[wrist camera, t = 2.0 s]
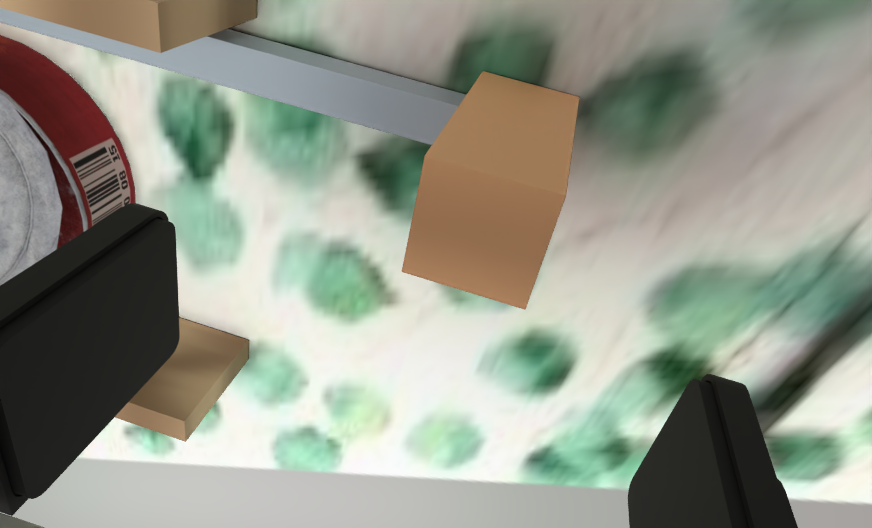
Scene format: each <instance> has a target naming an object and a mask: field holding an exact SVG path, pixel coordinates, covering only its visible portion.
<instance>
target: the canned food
mask: <svg viewBox="0 0 872 528" xmlns="http://www.w3.org/2000/svg"><path fill="white" fill-rule="evenodd" d="M130 203H135V186H134V181H133V177H132V172H131V168H130V164H129V162H128V159H127V157H126V154H125V152H124V149H123V147H122V144H121V142H120V140H119V138H118V137H117V135H116V133H115V131H114V130H113V128H112V126H111V124H110V123H109V121H108V119H107V118H106V116H105V115H104V114H103V112H102V111H101V110H100V108H99V107H98V106H97V105H96V103H95V102H94V101H93V99H92V98H91V97H90V95H89V94H88V93H87V92H86V91H85V90H84V89H83V88H82V87H81V86H80V85H79V84H78V83H77V82H76V81H75V80H74V79H73V78H72V77H71V76H70V75H69V74H68V73H66V72H65V71H64V70H62V69H61V68H60V67H59V66H57V65H56V64H55V63H53V62H52V61H51V60H49V59H48V58H47V57H46V56H44V55H42V54H40V53H38V52H37V51H35V50H33V49H31V48H30V47H28V46H26V45H24V44H22V43H20V42H17V41H15V40H12V39H9V38H6V37H4V36H1V35H0V285H2V284H4V283H5V282H7V281H8V280H10V279H11V278H13V277H14V276H16V275H18V274H19V273H21V272H22V271H24V270H25V269H27V268H28V267H30V266H32V265H33V264H35V263H36V262H38V261H39V260H41V259H42V258H44V257H46V256H47V255H49V254H50V253H52V252H53V251H55V250H57V249H58V248H60V247H61V246H63V245H64V244H66V243H67V242H69V241H71V240H72V239H74V238H75V237H77V236H78V235H80V234H81V233H83V232H85V231H86V230H88V229H89V228H91V227H92V226H94V225H96V224H97V223H99V222H100V221H102V220H103V219H105V218H106V217H108V216H110V215H111V214H113V213H114V212H116V211H117V210H119V209H120V208H122V207H124V206H125V205H127V204H130Z"/></svg>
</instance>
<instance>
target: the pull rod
mask: <svg viewBox="0 0 872 528" xmlns="http://www.w3.org/2000/svg"><path fill="white" fill-rule="evenodd" d="M0 22H1V23H5V24H8V25H12V26H15V27H19V28H22V29H26V30H29V31H33V32H36V33H40V34H43V35H47V36H50V37H54V38H57V39H61V40H64V41H68V42H71V43H75V44H78V45H82V46H85V47H89V48H92V49H96V50H99V51H103V52H106V53H110V54H113V55H117V56H121V57H124V58H128V59H131V60H135V61H138V62H142V63H145V64H149V65H152V66H156V67H159V68H163V69H166V70H170V71H173V72H177V73H180V74H184V75H187V76H191V77H194V78H198V79H201V80H205V81H208V82H212V83H215V84H219V85H222V86H226V87H229V88H233V89H236V90H240V91H243V92H247V93H251V94H254V95H258V96H261V97H265V98H268V99H272V100H275V101H279V102H282V103H286V104H289V105H293V106H296V107H300V108H303V109H307V110H310V111H314V112H317V113H321V114H324V115H328V116H331V117H335V118H338V119H342V120H345V121H349V122H352V123H356V124H359V125H363V126H366V127H370V128H373V129H377V130H380V131H384V132H388V133H391V134H395V135H398V136H402V137H405V138H409V139H412V140H416V141H419V142H423V143H426V144H430V145H432V146H431V147H430V149H429V150H428V152H427V153H426V155H425V157H424V162H423V167H422V172H421V177H420V183H419V188H418V193H417V198H416V203H415V208H414V213H413V218H412V223H411V228H410V233H409V238H408V243H407V248H406V253H405V258H404V263H403V268H402V272H404V273H408V274H411V275H414V276H417V277H421V278H424V279H427V280H430V281H434V282H437V283H440V284H443V285H447V286H450V287H453V288H457V289H460V290H463V291H466V292H470V293H473V294H476V295H479V296H483V297H486V298H489V299H492V300H496V301H499V302H502V303H505V304H509V305H512V306H515V307H519V308H522V309H526V306H527V303H528V300H529V298H530V295H531V292H532V289H533V286H534V284H535V281H536V278H537V275H538V273H539V270H540V267H541V264H542V261H543V259H544V256H545V253H546V250H547V247H548V245H549V242H550V239H551V236H552V233H553V231H554V228H555V225H556V222H557V219H558V217H559V214H560V211H561V208H562V206H563V203H564V200H565V197H566V191H567V184H568V177H569V170H570V162H571V155H572V148H573V140H574V133H575V126H576V118H577V111H578V104H579V97H577V96H573V95H570V94H566V93H562V92H558V91H555V90H551V89H547V88H544V87H540V86H536V85H533V84H529V83H525V82H521V81H518V80H514V79H510V78H507V77H503V76H499V75H496V74H492V73H488V72H485V71H483V72H482V73H481V74H480V76H479V77H478V79H477V80H476V82H475V83H474V85H473V86H472V88H471V89H470V91H469V92H468V93H467V95H466V94H462V93H458V92H455V91H451V90H447V89H444V88H440V87H437V86H433V85H429V84H426V83H422V82H418V81H415V80H411V79H407V78H404V77H400V76H397V75H393V74H389V73H386V72H382V71H378V70H375V69H371V68H367V67H364V66H360V65H357V64H353V63H349V62H346V61H342V60H338V59H335V58H331V57H327V56H324V55H320V54H317V53H313V52H309V51H306V50H302V49H298V48H295V47H291V46H287V45H284V44H280V43H277V42H273V41H269V40H266V39H262V38H258V37H255V36H251V35H247V34H244V33H240V32H237V31H233V30H229V29H225V30H222V31H219V32H217V33H214V34H211V35H209V36H206V37H203V38H200V39H198V40H195V41H192V42H190V43H187V44H184V45H181V46H179V47H176V48H173V49H171V50H168V51H165V52H162V53H159V52H155V51H151V50H148V49H144V48H141V47H137V46H134V45H130V44H127V43H123V42H120V41H116V40H112V39H109V38H105V37H102V36H98V35H95V34H91V33H88V32H84V31H81V30H77V29H74V28H70V27H66V26H63V25H59V24H56V23H52V22H49V21H45V20H42V19H38V18H35V17H31V16H27V15H24V14H20V13H17V12H13V11H10V10H6V9H3V8H0Z"/></svg>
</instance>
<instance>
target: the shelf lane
mask: <svg viewBox="0 0 872 528" xmlns="http://www.w3.org/2000/svg"><path fill="white" fill-rule="evenodd" d="M0 8H3V9H6V10H10V11H13V12H17V13H20V14H24V15H27V16H31V17H35V18H38V19H42V20H45V21H49V22H52V23H56V24H59V25H63V26H66V27H70V28H74V29H77V30H81V31H84V32H88V33H91V34H95V35H98V36H102V37H105V38H109V39H112V40H116V41H120V42H123V43H127V44H130V45H134V46H137V47H141V48H144V49H148V50H151V51H155V52H159V53H162V52H165V51H168V50H171V49H173V48H176V47H179V46H181V45H184V44H187V43H190V42H192V41H195V40H198V39H200V38H203V37H206V36H209V35H211V34H214V33H217V32H219V31H222V30H225V29H228V28H230V27H233V26H236V25H238V24H241V23H244V22H247V21H249V20H252V19H255V18H257V0H0ZM179 331H180V337H179V343H178V346H177V348H176V350H175V352H174V353H173V355H172V356H171V357H170V358H169V359H168V360H167V361H166V362H165V363H164V364H163V366H162V367H161V368H160V369H159V370H158V371H157V372H156V373H155V374H154V375H153V376H152V377H151V378H150V380H149V381H148V382H147V383H146V384H145V385H144V386H143V387H142V388H141V389H140V390H139V391H138V392H137V393H136V395H135V396H134V397H133V398H132V399H131V400H130V401H129V402H128V403H127V404H126V405H125V406H124V407H123V408H122V410H121V411H120V412H119V413H118V414H117V415H116V416H115V417H116V418H119V419H122V420H124V421H127V422H130V423H133V424H136V425H139V426H142V427H145V428H148V429H151V430H153V431H156V432H159V433H162V434H165V435H168V436H171V437H174V438H177V439H179V440H182V441H185V442H186V441H187V439H188V438H189V437H190V435H191V434H192V433H193V431H194V430H195V429H196V427H197V426H198V425H199V424H200V422H201V421H202V420H203V418H204V417H205V416H206V414H207V413H208V412H209V410H210V409H211V408H212V406H213V405H214V404H215V403H216V401H217V400H218V399H219V397H220V396H221V395H222V393H223V392H224V391H225V389H226V388H227V387H228V386H229V384H230V383H231V382H232V380H233V379H234V378H235V376H236V375H237V374H238V372H239V371H240V370H241V368H242V367H243V366H244V365H245V363H246V362H247V361H248V357H249V340H247V339H244V338H240V337H237V336H234V335H231V334H228V333H225V332H222V331H219V330H216V329H213V328H210V327H207V326H204V325H201V324H197V323H194V322H191V321H188V320H185V319H182V318H179Z"/></svg>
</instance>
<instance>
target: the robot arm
mask: <svg viewBox="0 0 872 528" xmlns="http://www.w3.org/2000/svg"><path fill="white" fill-rule="evenodd" d="M179 337H180V331H179V307H178V282H177V258H176V233H175V227H174V225H173V224H172V223H171V222H169V221H168V217H167V215H166V214H165V213H164V212H162V211H159V210H156V209H153V208H149V207H146V206H142V205H139V204H136V203H130V204H127V205H125V206H124V207H122V208H120V209H119V210H117V211H116V212H114V213H113V214H111V215H110V216H108V217H106V218H105V219H103V220H102V221H100V222H99V223H97V224H96V225H94V226H92V227H91V228H89V229H88V230H86V231H85V232H83V233H81V234H80V235H78V236H77V237H75V238H74V239H72V240H71V241H69V242H67V243H66V244H64V245H63V246H61V247H60V248H58V249H57V250H55V251H53V252H52V253H50V254H49V255H47V256H46V257H44V258H42V259H41V260H39V261H38V262H36V263H35V264H33V265H32V266H30V267H28V268H27V269H25V270H24V271H22V272H21V273H19V274H18V275H16V276H14V277H13V278H11V279H10V280H8V281H7V282H5V283H4V284H2V285H0V512H2V513H5V514H8V515H11V516H8V515H5V514H2V513H0V528H44V527H41V526H38V525H35V524H32V523H30V522H26V521H24V520H20V519H18V518H15V517H12V515H13V514H14V513H15V512H16V511H17V510H18V509H19V508H20V507H21V506H22V505H23V504H24V503H25V501H27V500H28V498H31V499H34V498H37V497H38V496H40V495H42V494H43V493H44V492H45V491H46V490H47V489H48V488H49V487H50V486H51V485H52V483H53V482H54V481H55V480H56V479H57V478H58V477H59V476H60V475H61V474H62V473H63V472H64V471H65V470H66V469H67V467H68V466H69V465H70V464H71V463H72V462H73V461H74V460H75V459H76V458H77V457H78V456H79V455H80V454H81V452H82V451H83V450H84V449H85V448H86V447H87V446H88V445H89V444H90V443H91V442H92V441H93V440H94V439H95V437H96V436H97V435H98V434H99V433H100V432H101V431H102V430H103V429H104V428H105V427H106V426H107V425H108V423H109V422H110V421H111V420H112V419H113V418H114V417H115V416H116V415H117V414H118V413H119V412H120V411H121V410H122V408H123V407H124V406H125V405H126V404H127V403H128V402H129V401H130V400H131V399H132V398H133V397H134V396H135V395H136V393H137V392H138V391H139V390H140V389H141V388H142V387H143V386H144V385H145V384H146V383H147V382H148V381H149V380H150V378H151V377H152V376H153V375H154V374H155V373H156V372H157V371H158V370H159V369H160V368H161V367H162V366H163V364H164V363H165V362H166V361H167V360H168V359H169V358H170V357H171V356H172V355H173V353H174V352H175V350H176V348H177V346H178V343H179ZM628 508H629V524H630V528H798V527H797V524H796V521H795V518H794V515H793V512H792V509H791V506H790V503H789V500H788V497H787V494H786V491H785V489H784V487H783V485H782V483H781V481H779V480H778V479H777V477H776V474H775V471H774V468H773V465H772V462H771V459H770V456H769V453H768V450H767V447H766V444H765V441H764V438H763V435H762V432H761V429H760V426H759V423H758V420H757V416H756V413H755V410H754V407H753V404H752V401H751V398H750V395H749V392H748V390H747V388H746V386H745V385H744V384H742V383H739V382H735V381H732V380H728V379H725V378H722V377H718V376H715V375H712V374H707V375H706V376H704V377H703V378H702V380H698V379H692V380H691V381H690V382H689V384H688V385H687V387H686V389H685V390H684V392H683V394H682V395H681V397H680V399H679V400H678V402H677V404H676V406H675V407H674V409H673V411H672V412H671V414H670V416H669V417H668V419H667V421H666V422H665V424H664V426H663V428H662V429H661V431H660V433H659V434H658V436H657V438H656V439H655V441H654V443H653V445H652V446H651V448H650V450H649V451H648V453H647V455H646V456H645V458H644V460H643V461H642V463H641V465H640V467H639V468H638V470H637V472H636V473H635V475H634V477H633V479H632V481H631V484H630V487H629V492H628Z"/></svg>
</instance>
